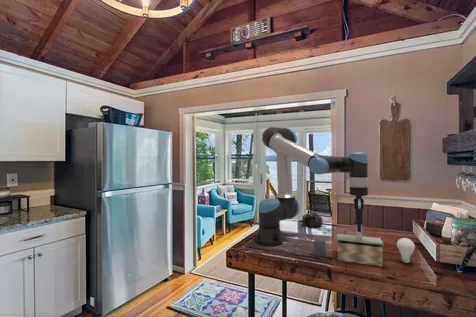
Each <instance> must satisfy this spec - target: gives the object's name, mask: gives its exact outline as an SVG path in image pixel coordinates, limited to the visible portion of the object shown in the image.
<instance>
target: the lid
mask: <svg viewBox="0 0 476 317" xmlns="http://www.w3.org/2000/svg"><path fill="white" fill-rule="evenodd" d="M336 240H337V241H338V240H343V241H352V242H361V243H371V244H380V245H383V246H385V245H384V242H382V240H381V239H380V238H375V237H374V236H368V237H364V236H362V239H357V238H356V234H355V235H352V234H344V233H343V234H342V233H336Z"/></svg>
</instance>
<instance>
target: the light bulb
mask: <svg viewBox="0 0 476 317" xmlns="http://www.w3.org/2000/svg"><path fill="white" fill-rule="evenodd" d="M415 245H416V244H414V242H413V240H411V239H409V238H407V237H402V238H399V239H398V240H397V242H396V247H397V249H398V250H399V253H400V256H401V261H402V262H403V263H404V264H409V263H410V262H411V260H410V259H411V256H412V254H413V253H414V251H415V247H416V246H415Z"/></svg>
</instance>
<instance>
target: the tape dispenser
mask: <svg viewBox="0 0 476 317" xmlns="http://www.w3.org/2000/svg"><path fill="white" fill-rule="evenodd" d="M362 236H364V237H374V238H380V239H381V240H382V242H383V240H384V239H383V236H381V235H375V234H370V233H369V234H368V233H363V232H362ZM383 243H384V242H383ZM381 246H382V248H383V247H384V245H381Z"/></svg>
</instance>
